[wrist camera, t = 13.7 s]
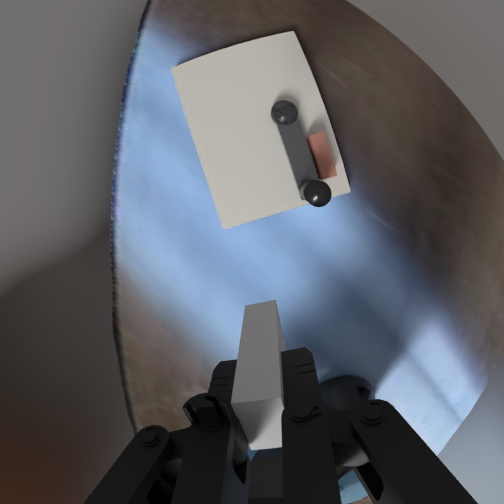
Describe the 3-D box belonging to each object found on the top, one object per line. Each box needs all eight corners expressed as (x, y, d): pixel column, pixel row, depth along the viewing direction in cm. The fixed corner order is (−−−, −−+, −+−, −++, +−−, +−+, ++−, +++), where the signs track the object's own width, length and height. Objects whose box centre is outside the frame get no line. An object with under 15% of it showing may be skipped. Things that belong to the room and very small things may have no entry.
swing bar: (267, 106, 35) (267, 92, 28) (291, 99, 35) (297, 84, 28) (299, 203, 39) (307, 210, 32) (324, 196, 38) (337, 202, 31)
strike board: (346, 191, 40) (357, 193, 35) (225, 226, 43) (220, 234, 38) (292, 36, 34) (295, 22, 29) (174, 72, 36) (164, 62, 31)
